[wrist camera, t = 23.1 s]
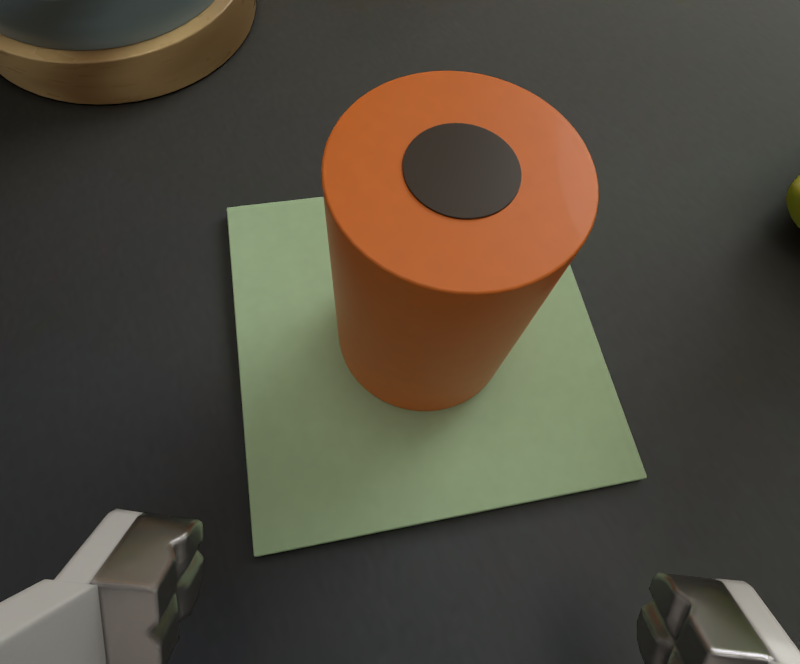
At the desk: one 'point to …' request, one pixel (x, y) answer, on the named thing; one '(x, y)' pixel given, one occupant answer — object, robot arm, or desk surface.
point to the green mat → (393, 426)
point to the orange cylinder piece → (448, 229)
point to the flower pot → (794, 201)
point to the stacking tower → (117, 45)
